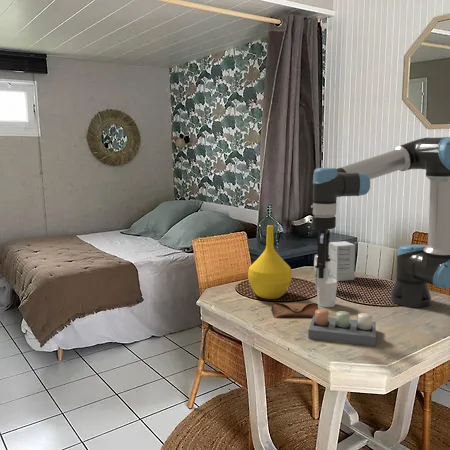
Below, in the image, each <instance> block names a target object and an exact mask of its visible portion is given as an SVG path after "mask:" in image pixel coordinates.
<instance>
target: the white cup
mask: <svg viewBox="0 0 450 450" xmlns="http://www.w3.org/2000/svg"><path fill="white" fill-rule="evenodd" d="M337 287H338V281H337V280H336V279H333V278H330V277H328V281H326V286H325V288H322V287H317V290H316V294H317V296H316V297H317V304H318V307H319V306H320V307H322V308H332V307H333V308H334V307H335V306H336V298H337Z"/></svg>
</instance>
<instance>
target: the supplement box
mask: <svg viewBox="0 0 450 450" xmlns="http://www.w3.org/2000/svg"><path fill="white" fill-rule="evenodd" d="M329 255H330V272H329V277H328V278H333V279H336V280H337V282H343V281H344V282H346V281H354V280H355V267H356V266H355V264H356V244H353V243H351V242H349V241H345V240H343V241H330V242H329Z"/></svg>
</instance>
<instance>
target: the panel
mask: <svg viewBox="0 0 450 450" xmlns="http://www.w3.org/2000/svg"><path fill="white" fill-rule="evenodd" d="M376 323H377V322H376V321H372V328H371V329H369V330H363V329H360V328H358V319H351V318H350V326H349V327H338V326H337V325H336V317H331V316H330V317H329V316H328V324H327V325H318V324H316V323H315V316H313V318H311V321H310V324H309V327H308V333H307V335H308V336H307V338H308V339H309V340H310V339H312V340H320V341H327V342H328V341H329V342H335V343H336V342H337V343H345V344H346V343H348V344H354V345H355V344H356V345H363V346H364V345H365V346H372V347H376V338H377V337H376V335H377V334H376V332H377V329H376V327H377V325H376Z"/></svg>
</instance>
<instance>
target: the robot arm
mask: <svg viewBox="0 0 450 450" xmlns="http://www.w3.org/2000/svg"><path fill="white" fill-rule="evenodd" d="M409 170H424V171H425V177H426V178H427V179H428V180H429V205H428V231H427V232H428V234H427V235H428V236H427V244H404V245H400V246H399V247H398V249H397V255H396V275H395V276H396V277H395V278H396V279H395V283H394V286H393V288H392V291H391V294H390V301H391V302H392V303H394V304H396V305H399V306H403V307H409V308H424V307H429V306H431V304H432V296H431V293H430V289H429V286H428V284H430V285H432V286H435V287H437V288H442V289H444V290H445V289H450V136H445V137H444V136H443V137H442V136H441V137H423V138H418V139H415V140H412V141H410V142H407V143H404V144H401V145H398V146H395V147H394V148H393V149H392V150H391V151H388V152H384V153H382V154H378V155H376V156H372V157H368V158H366V159H362V160H359V161H356V162H354V163H350V164H347V165H344V166H341V167H338V168H335V167H317V168H315V169H314V171H313V177H312V187H313V188H312V204H311V205H310V208H311V209H312V215H313V216H312V217H311V218H312V220H311V221H312V223H311V225H312V228H314V229H317V230H319V232H317V234H316V240H317V241H316V242H317V243H316V245H317V250H316V252H317V253H316V254H317V265H316V266H315V268H317V287H322V288H325V286H326V281H328V278H329V277H328V262H327V261H330V259H329V242H331V241H330V237H331V232H330V230H334V229H335V228H336V225H337V224H336V223H337V217H336V215H337V206H338V205H337V200H338V199H337V198H338V197H339V198H340V197H359V196H365V195H367V194H368V193H369V191H370V189H371V180H372V179H376V178H379V177H381V176H382V177H383V176H386V175H389V174H392V173H394V172H397V171H400V172H405V171H409Z"/></svg>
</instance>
